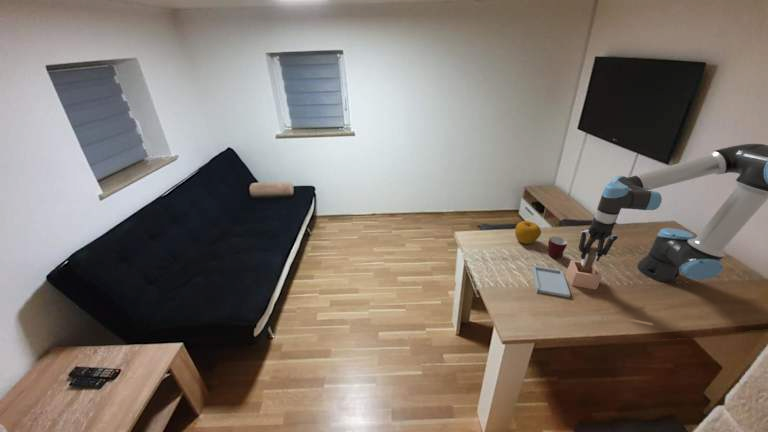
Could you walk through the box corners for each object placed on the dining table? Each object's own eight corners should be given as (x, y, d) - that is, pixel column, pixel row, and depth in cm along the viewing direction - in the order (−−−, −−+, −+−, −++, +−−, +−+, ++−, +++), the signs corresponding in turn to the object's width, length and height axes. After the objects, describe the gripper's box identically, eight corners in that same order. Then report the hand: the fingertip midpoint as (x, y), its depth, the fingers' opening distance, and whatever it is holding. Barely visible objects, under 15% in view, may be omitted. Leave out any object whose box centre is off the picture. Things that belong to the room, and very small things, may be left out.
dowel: (583, 278, 140) (596, 246, 132) (585, 282, 138) (598, 250, 129) (576, 277, 141) (588, 245, 133) (578, 281, 139) (590, 249, 130)
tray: (531, 268, 149) (532, 265, 148) (560, 273, 145) (562, 269, 144) (536, 293, 134) (537, 289, 133) (569, 299, 130) (570, 295, 129)
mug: (568, 263, 152) (573, 247, 147) (552, 264, 152) (557, 248, 147) (556, 251, 161) (561, 236, 156) (541, 252, 161) (546, 236, 156)
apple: (519, 232, 179) (523, 215, 173) (541, 241, 170) (546, 224, 165) (508, 240, 171) (512, 223, 166) (531, 250, 163) (536, 232, 157)
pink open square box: (589, 277, 143) (594, 263, 139) (595, 290, 135) (601, 276, 131) (566, 273, 146) (570, 259, 142) (570, 286, 137) (576, 272, 133)
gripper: (623, 218, 125) (604, 263, 137) (580, 213, 130) (565, 257, 141) (630, 226, 119) (610, 273, 130) (585, 221, 123) (569, 267, 134)
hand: (587, 265), depth 135 cm, fingers closed on dowel, 3 cm apart
